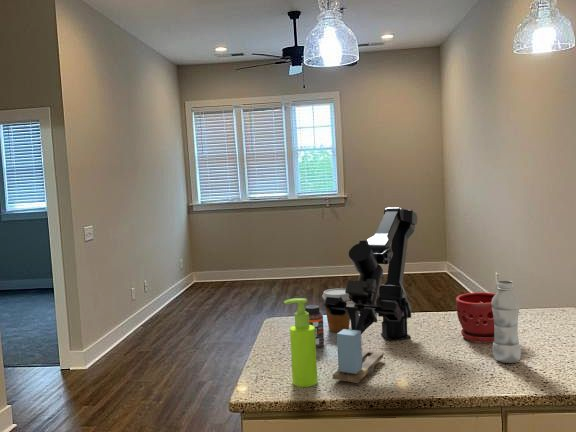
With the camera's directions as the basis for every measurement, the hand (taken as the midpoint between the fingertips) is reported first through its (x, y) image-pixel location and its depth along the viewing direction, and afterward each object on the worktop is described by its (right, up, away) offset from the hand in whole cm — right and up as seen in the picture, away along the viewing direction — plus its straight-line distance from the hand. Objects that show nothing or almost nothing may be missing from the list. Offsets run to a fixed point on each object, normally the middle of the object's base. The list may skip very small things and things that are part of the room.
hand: (354, 339), depth 125 cm
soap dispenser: (-12, -10, -2) cm, 16 cm away
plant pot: (+39, -5, +23) cm, 46 cm away
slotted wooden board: (+2, -9, +3) cm, 9 cm away
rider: (-1, -8, -2) cm, 8 cm away
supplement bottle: (-8, -8, +24) cm, 27 cm away
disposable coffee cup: (0, -6, +38) cm, 39 cm away
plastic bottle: (+39, -7, +5) cm, 39 cm away
